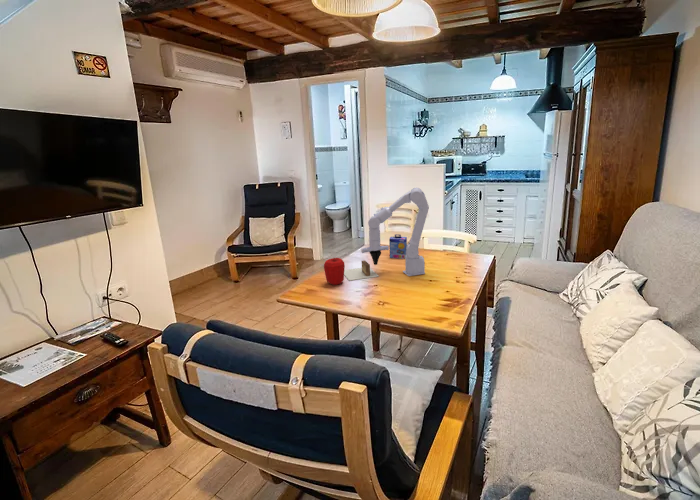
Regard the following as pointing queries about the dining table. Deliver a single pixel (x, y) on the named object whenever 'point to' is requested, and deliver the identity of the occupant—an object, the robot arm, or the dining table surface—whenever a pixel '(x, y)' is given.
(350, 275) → the mat
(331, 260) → the apple
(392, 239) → the ink cartridge box
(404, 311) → the dining table surface
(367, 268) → the tile
